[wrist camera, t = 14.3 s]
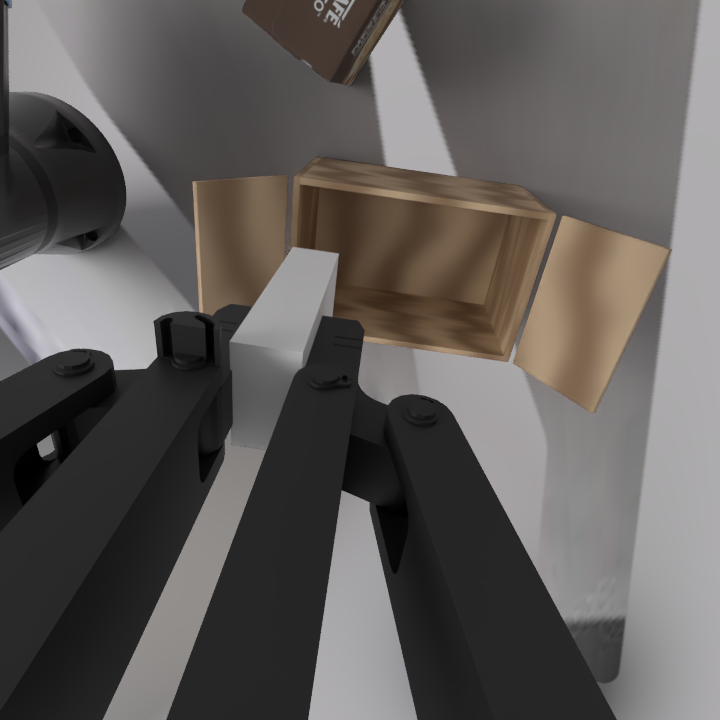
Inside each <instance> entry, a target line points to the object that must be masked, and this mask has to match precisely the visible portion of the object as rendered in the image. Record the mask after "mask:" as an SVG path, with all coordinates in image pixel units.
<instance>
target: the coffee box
mask: <svg viewBox="0 0 720 720" xmlns="http://www.w3.org/2000/svg"><path fill="white" fill-rule="evenodd" d="M404 1H405V0H246V2H245V4H244V6H243V9H242V12H243V13H244V14H246V15H247V16H248V17H249V18H251V19H252V20H253V21H254V22H255V23H256V24H257V25H258V26H259V27H261V28H262V29H263V30H264V31H265V32H267V33H268V34H269V35H270V36H271V37H273V38H274V40H276V41H277V42H278V43H279V44H280V45H281V46H283V47H284V48H285V49H286V50H287V51H289V52H290V53H291V54H292V55H293V56H294V57H295V58H298V60H302V61H303V62H305V63H306V64H307V65H308V66H310V67H311V68H312V69H313V70H315V71H316V72H317V73H318V74H319V75H321V76H322V77H323V78H325V79H326V80H327V81H329V82H333V83H339V84H344V85H347V86H350V85H351V84H352V82H353V81H354V79H355V78H356V76H357V74H358V73H359V71H360V70H361V68H362V67H363V65H364V63H365V62H366V60H367V59H368V57H369V56H370V54H371V52H372V51H373V49H374V48H375V46H376V44H377V43H378V41H379V40H380V38H381V37H382V35H383V34H384V32H385V31H386V29H387V27H388V26H389V24H390V23H391V21H392V20H393V18H394V17H395V15H396V13H397V12H398V10H399V9H400V7H401V6H402V4H403V2H404Z"/></svg>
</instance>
